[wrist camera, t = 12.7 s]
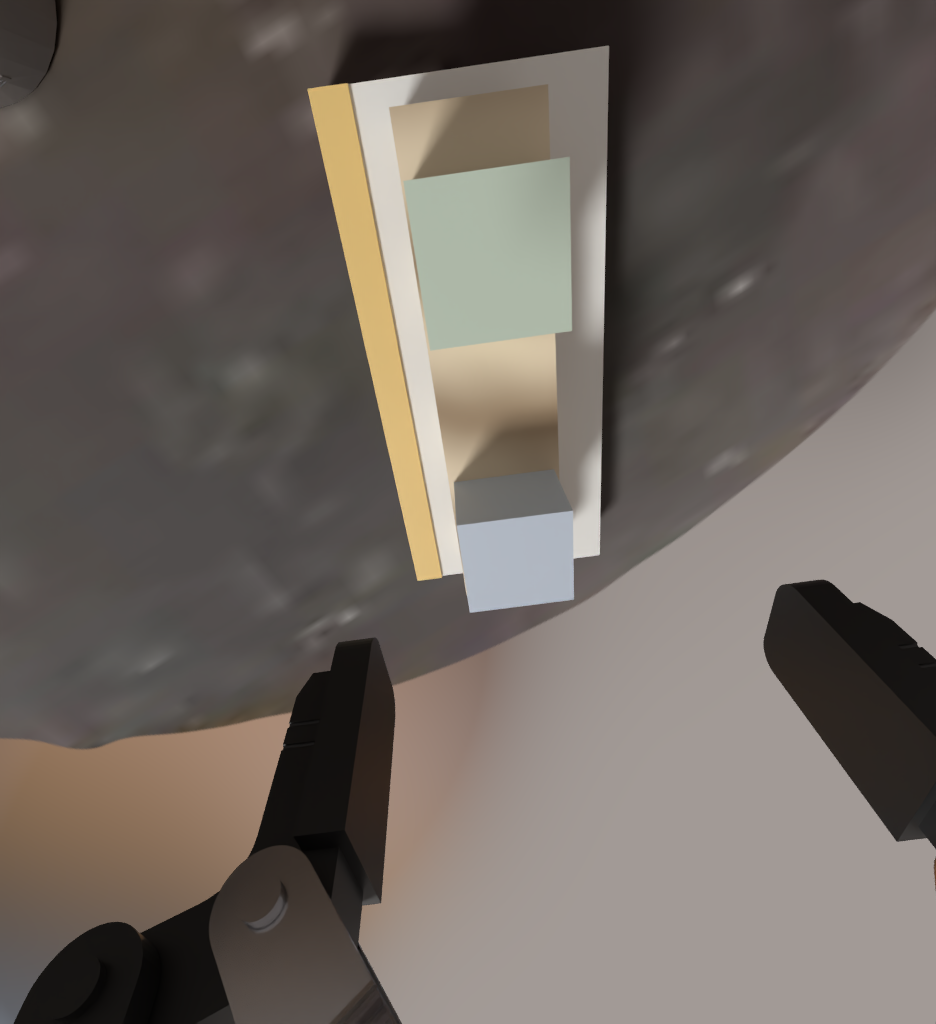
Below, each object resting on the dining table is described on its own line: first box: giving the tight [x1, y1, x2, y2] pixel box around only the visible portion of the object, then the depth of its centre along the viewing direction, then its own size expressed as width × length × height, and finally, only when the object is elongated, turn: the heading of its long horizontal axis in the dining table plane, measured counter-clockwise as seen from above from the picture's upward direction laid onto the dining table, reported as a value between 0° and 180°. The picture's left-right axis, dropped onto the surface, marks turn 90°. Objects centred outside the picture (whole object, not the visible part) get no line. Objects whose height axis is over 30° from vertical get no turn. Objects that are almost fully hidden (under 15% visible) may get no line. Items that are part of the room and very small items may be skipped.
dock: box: [308, 46, 609, 581], centre depth 27 cm, size 25×12×3 cm, turn 7°
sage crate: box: [403, 157, 572, 351], centre depth 18 cm, size 5×5×4 cm
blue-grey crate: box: [454, 469, 574, 613], centre depth 24 cm, size 5×5×4 cm
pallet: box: [389, 84, 559, 594], centre depth 24 cm, size 22×6×4 cm, turn 7°
